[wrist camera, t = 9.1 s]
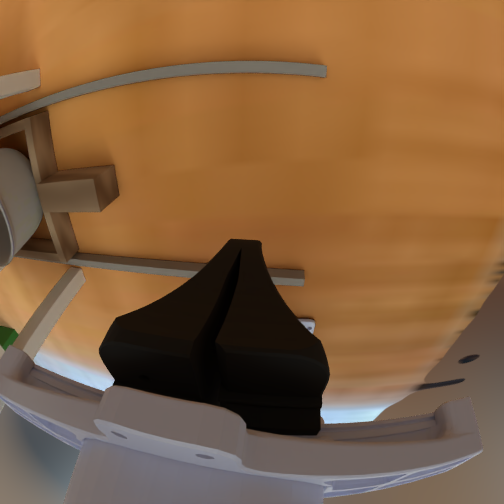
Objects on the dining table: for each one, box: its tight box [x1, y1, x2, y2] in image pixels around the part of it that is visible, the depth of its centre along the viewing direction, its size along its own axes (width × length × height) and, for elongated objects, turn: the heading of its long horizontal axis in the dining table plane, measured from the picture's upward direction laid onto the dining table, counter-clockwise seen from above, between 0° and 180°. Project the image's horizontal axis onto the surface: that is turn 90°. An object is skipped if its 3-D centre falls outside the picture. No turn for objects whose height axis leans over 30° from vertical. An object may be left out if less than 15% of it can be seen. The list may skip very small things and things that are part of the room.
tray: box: [0, 111, 119, 263], centre depth 21 cm, size 15×25×3 cm, turn 89°
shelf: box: [0, 61, 327, 360], centre depth 16 cm, size 24×44×16 cm, turn 89°
